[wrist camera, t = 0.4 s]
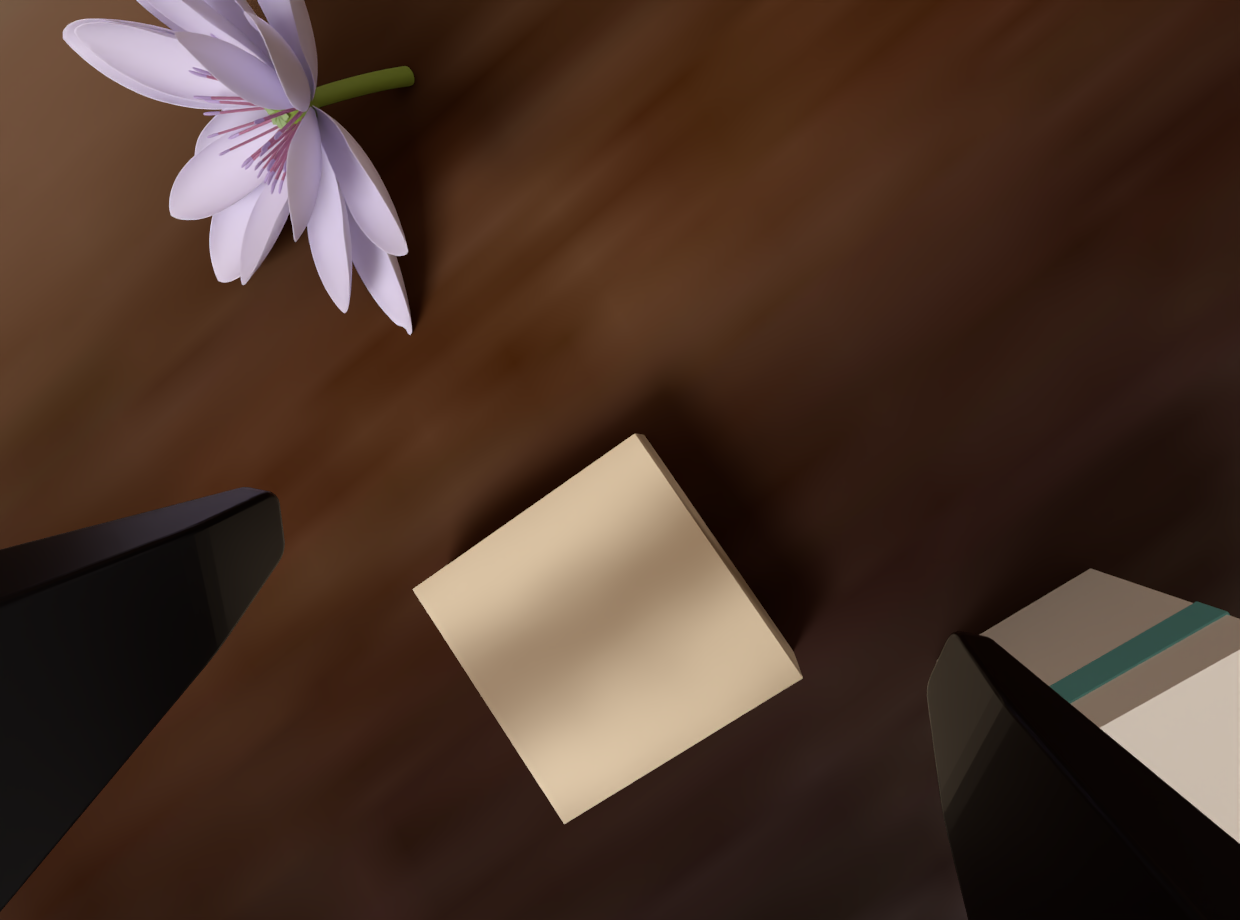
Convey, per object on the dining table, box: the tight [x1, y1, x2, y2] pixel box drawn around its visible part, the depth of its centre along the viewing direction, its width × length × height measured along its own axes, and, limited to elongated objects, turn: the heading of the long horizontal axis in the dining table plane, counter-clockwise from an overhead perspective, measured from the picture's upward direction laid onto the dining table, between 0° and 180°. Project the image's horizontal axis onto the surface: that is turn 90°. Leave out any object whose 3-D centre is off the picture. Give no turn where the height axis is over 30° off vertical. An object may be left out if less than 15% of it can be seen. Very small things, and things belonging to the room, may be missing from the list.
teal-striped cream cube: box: [936, 568, 1240, 843], centre depth 18 cm, size 6×6×7 cm
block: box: [413, 434, 803, 824], centre depth 22 cm, size 9×9×3 cm
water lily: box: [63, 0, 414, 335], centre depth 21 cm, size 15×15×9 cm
